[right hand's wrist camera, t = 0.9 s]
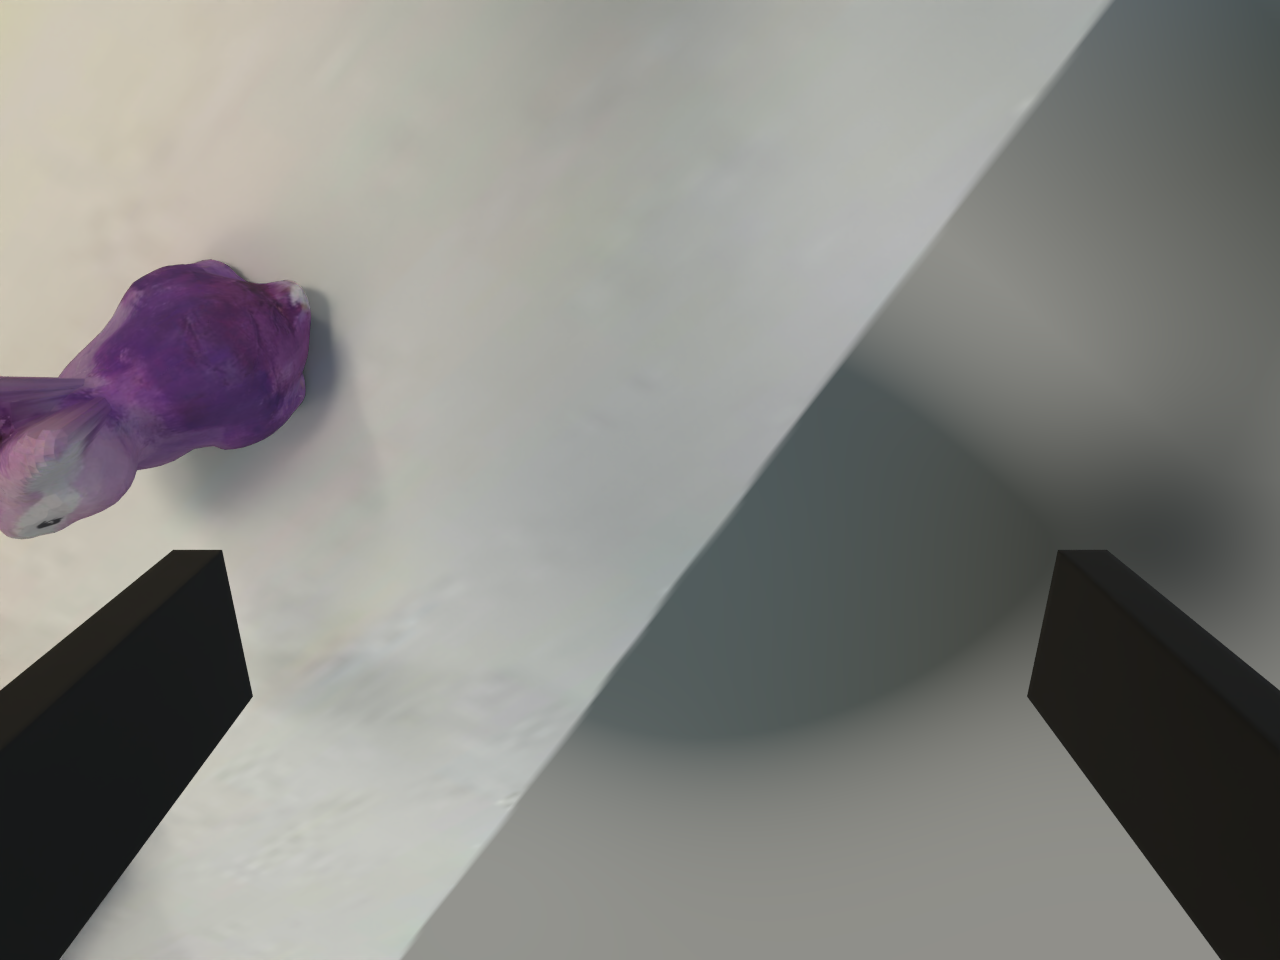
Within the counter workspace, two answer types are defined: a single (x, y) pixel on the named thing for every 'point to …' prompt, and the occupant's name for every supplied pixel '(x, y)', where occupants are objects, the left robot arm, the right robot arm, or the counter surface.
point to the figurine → (151, 392)
